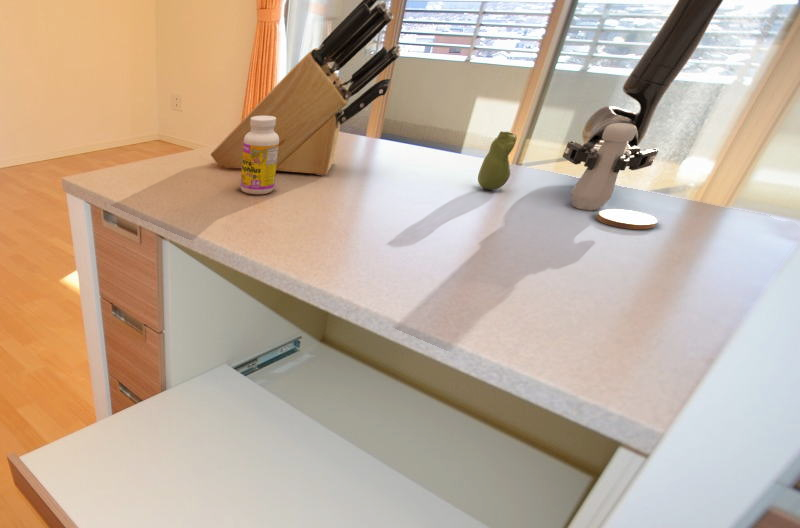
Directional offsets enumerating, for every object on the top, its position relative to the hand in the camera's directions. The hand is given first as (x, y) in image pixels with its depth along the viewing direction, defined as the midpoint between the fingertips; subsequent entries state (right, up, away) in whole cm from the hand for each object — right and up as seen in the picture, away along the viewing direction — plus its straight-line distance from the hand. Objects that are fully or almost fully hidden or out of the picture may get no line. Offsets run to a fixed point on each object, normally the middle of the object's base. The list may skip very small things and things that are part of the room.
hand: (605, 164), depth 89 cm
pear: (-9, +3, +16) cm, 19 cm away
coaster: (+3, -9, 0) cm, 10 cm away
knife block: (-44, +14, +32) cm, 56 cm away
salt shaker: (+2, -4, +7) cm, 8 cm away
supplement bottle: (-54, +4, +19) cm, 58 cm away
